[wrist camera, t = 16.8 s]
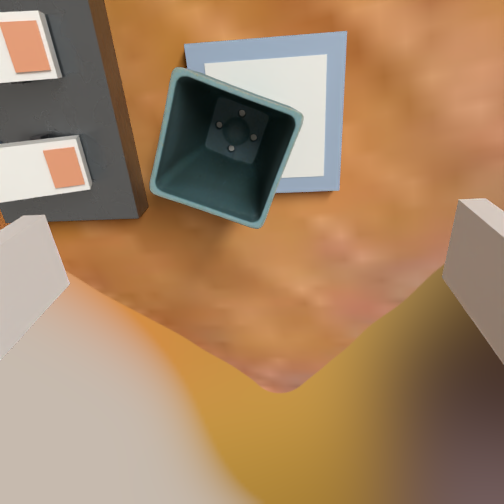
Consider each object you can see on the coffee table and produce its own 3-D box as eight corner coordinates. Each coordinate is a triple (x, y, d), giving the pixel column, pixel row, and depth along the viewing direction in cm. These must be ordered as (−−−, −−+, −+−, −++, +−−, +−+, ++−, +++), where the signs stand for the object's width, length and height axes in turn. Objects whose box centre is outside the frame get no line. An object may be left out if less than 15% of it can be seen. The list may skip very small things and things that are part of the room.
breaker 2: (-24, 146, 31) (-34, 152, 29) (78, 134, 32) (75, 139, 30) (-3, 196, 33) (-11, 205, 31) (92, 182, 34) (90, 190, 32)
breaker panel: (-64, -13, 30) (-111, -21, 27) (97, -29, 29) (71, -40, 25) (24, 211, 40) (-2, 228, 36) (148, 206, 39) (134, 223, 35)
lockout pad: (188, 44, 31) (183, 44, 30) (344, 32, 30) (347, 30, 28) (207, 190, 37) (204, 196, 36) (337, 185, 36) (339, 190, 35)
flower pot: (177, 160, 34) (146, 193, 27) (200, 60, 30) (172, 63, 22) (265, 191, 35) (260, 231, 27) (300, 97, 31) (306, 113, 23)
